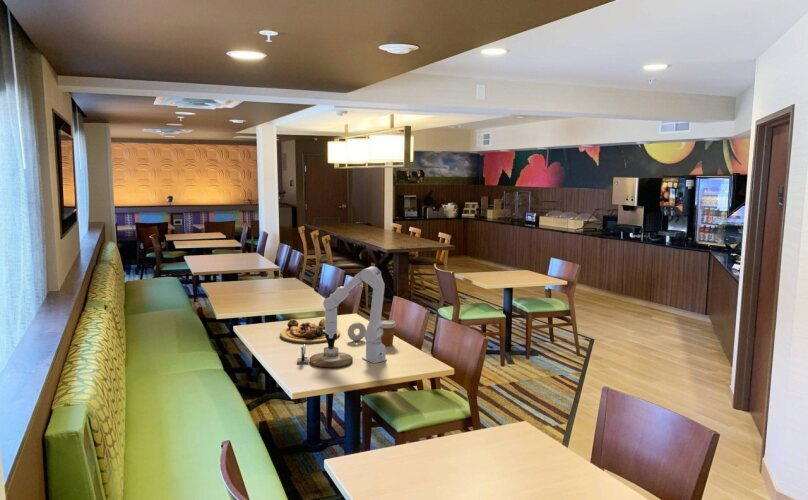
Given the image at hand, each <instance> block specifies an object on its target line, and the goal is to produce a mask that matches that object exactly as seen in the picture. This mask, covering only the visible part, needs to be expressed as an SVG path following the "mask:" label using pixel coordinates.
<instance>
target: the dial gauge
mask: <svg viewBox="0 0 808 500" xmlns="http://www.w3.org/2000/svg"><path fill="white" fill-rule="evenodd" d="M306 345H307V344H302V346H301V348H300V349H301V351H300V352H301V354H300V355H301V357H300V358H299V357H297V361H296V363H297V364H296V365H308V364H309V363H310V361H309V359H310V357H308V356H305V355H306V347H307V346H306Z"/></svg>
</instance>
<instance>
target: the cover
mask: <svg viewBox="0 0 808 500" xmlns="http://www.w3.org/2000/svg"><path fill="white" fill-rule="evenodd" d="M338 352H339V347H337V346H334V347H328V346H326V347H323V353H324V356H326V357H335V356H338Z"/></svg>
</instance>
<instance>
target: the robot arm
mask: <svg viewBox="0 0 808 500" xmlns="http://www.w3.org/2000/svg"><path fill="white" fill-rule="evenodd" d="M363 282H364V283H365V284H367V285H369V286H370V288H371V289H372V295H371V306H370V312H369V313H370V314H369V321H368V324H367V326H366V331H365V333H364V337H363V338H364V339H365V356H363V357H361V359H362V360H365V361H366V362H370V363H372V364H378V363H382V362H385V361H387V360H388V359H387V357H386V355H387V354H386V352H387V351H386V350H387V348H386V346H385V345H384V344H382V342H381V336H382V335H383V329H382V323H381V320H382V314H383V311H382V310H383V304H384V296H385V295H384V294H385V288H386V287H385V286H386V285H385V282H384V279H383V277H382V271H381V270H380V269H379V268H378V267H377V266H374V265H372V266H369V267H367V268H363V269H362V270H361V271H359V272H358V273H357V274H355V275H354V276H353V277H352V279H350V280H349V281H348V282H347V283H346V284H345V285H344V286H342V285H341V286H338V287H336V288H335V291H334V292H333V293H330V294H329V297H326V298H324V301H323V302H322V305H323V307H324V313H325V314H324V319H325V330H323V332H325V333H327V334H325V337H326V339H327V342H326V343H327V347H335V342H336V340H337V339H336V337H337V332H338V331H339V330H338V307H339V305H340V304H341V302H343V301H344V300H346V298H347V297H348V296H349V295H350V294H349V292H350V291H351V290H352V289H353V288H354V287H356V286H357V285H358V284H360V283H363Z"/></svg>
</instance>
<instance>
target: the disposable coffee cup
mask: <svg viewBox="0 0 808 500" xmlns="http://www.w3.org/2000/svg"><path fill="white" fill-rule="evenodd" d="M381 323H382V329H383V335H382V336H381V342H382V344H384V345H385V347H392V346H393V343H394V335H395V329H396V326H397V324H396V321H395V320H392V319H383V320H382V319H381Z"/></svg>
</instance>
